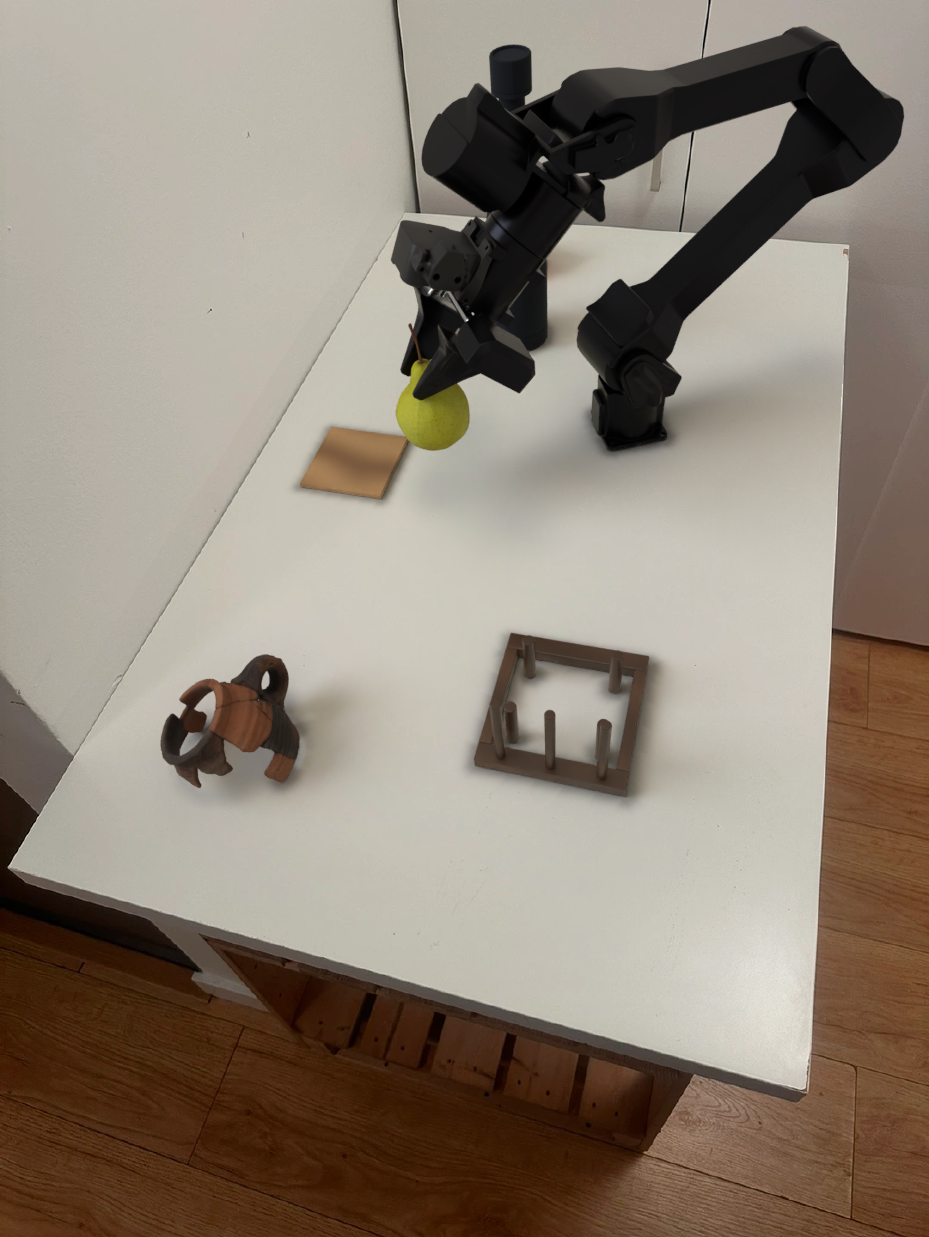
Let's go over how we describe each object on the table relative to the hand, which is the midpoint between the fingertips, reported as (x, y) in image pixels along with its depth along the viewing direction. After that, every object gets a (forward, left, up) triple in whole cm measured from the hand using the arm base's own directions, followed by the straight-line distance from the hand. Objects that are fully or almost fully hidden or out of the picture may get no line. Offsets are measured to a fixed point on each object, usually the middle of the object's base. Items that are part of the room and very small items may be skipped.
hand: (410, 385), depth 77 cm
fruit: (-2, 0, -7) cm, 7 cm away
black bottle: (-15, -22, -14) cm, 30 cm away
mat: (+7, -6, -13) cm, 16 cm away
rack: (-6, +29, -13) cm, 32 cm away
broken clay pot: (+20, +25, -14) cm, 34 cm away
